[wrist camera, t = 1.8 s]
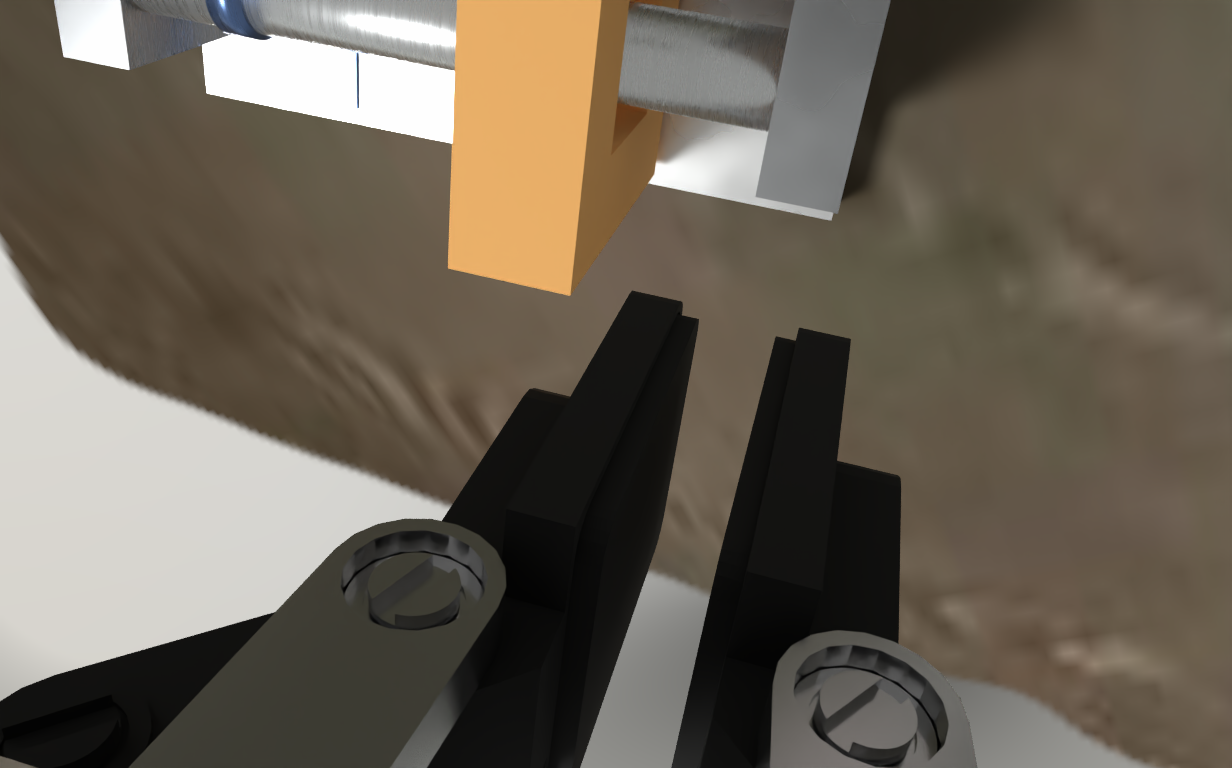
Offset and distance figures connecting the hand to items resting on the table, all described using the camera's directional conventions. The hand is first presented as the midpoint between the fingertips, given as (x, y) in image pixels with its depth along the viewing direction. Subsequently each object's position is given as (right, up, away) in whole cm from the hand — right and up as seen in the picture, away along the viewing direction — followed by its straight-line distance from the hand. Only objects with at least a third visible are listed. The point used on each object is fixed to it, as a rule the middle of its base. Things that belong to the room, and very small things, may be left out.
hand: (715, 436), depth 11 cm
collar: (-1, +11, +18) cm, 21 cm away
